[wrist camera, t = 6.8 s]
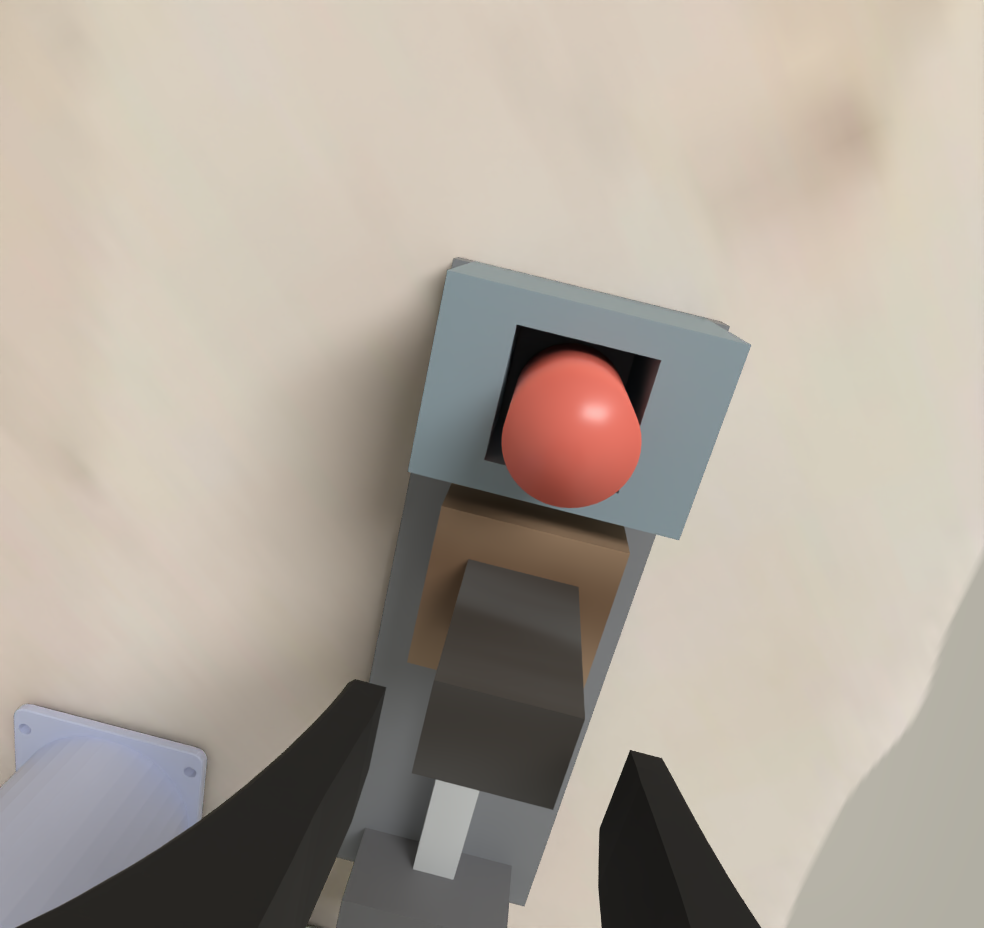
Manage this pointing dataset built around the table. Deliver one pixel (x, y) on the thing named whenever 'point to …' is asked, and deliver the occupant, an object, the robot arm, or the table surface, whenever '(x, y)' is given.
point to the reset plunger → (570, 428)
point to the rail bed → (480, 465)
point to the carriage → (511, 640)
